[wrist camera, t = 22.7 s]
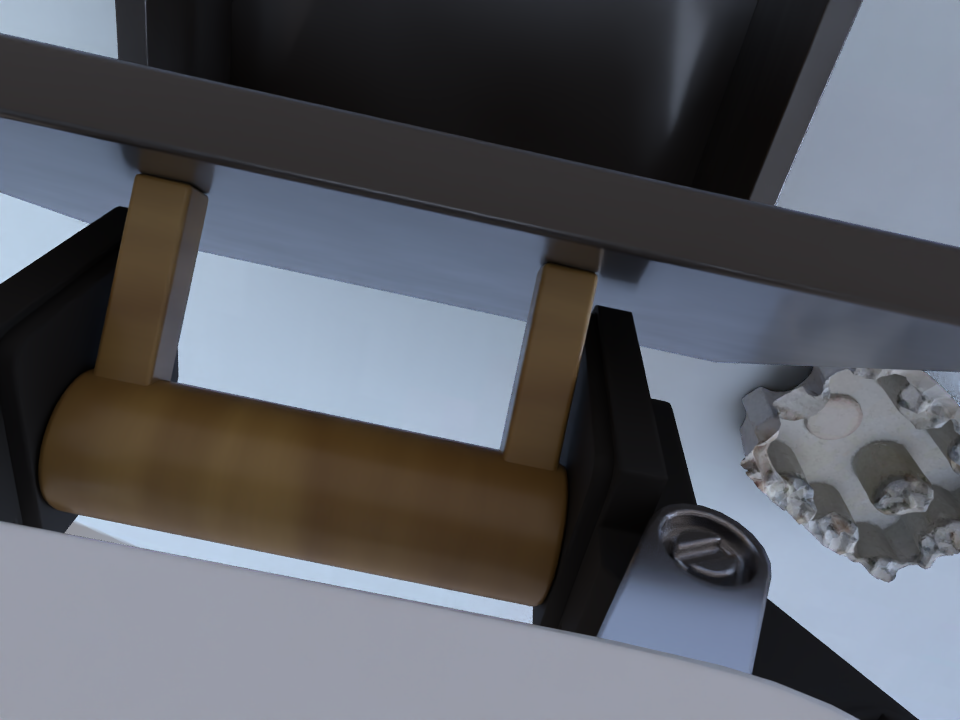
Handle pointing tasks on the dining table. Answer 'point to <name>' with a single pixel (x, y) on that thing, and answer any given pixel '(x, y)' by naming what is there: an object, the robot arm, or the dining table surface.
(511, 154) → the lid
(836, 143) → the dining table surface
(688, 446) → the dining table surface
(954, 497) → the grey rock
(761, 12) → the chest
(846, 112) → the dining table surface
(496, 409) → the dining table surface
